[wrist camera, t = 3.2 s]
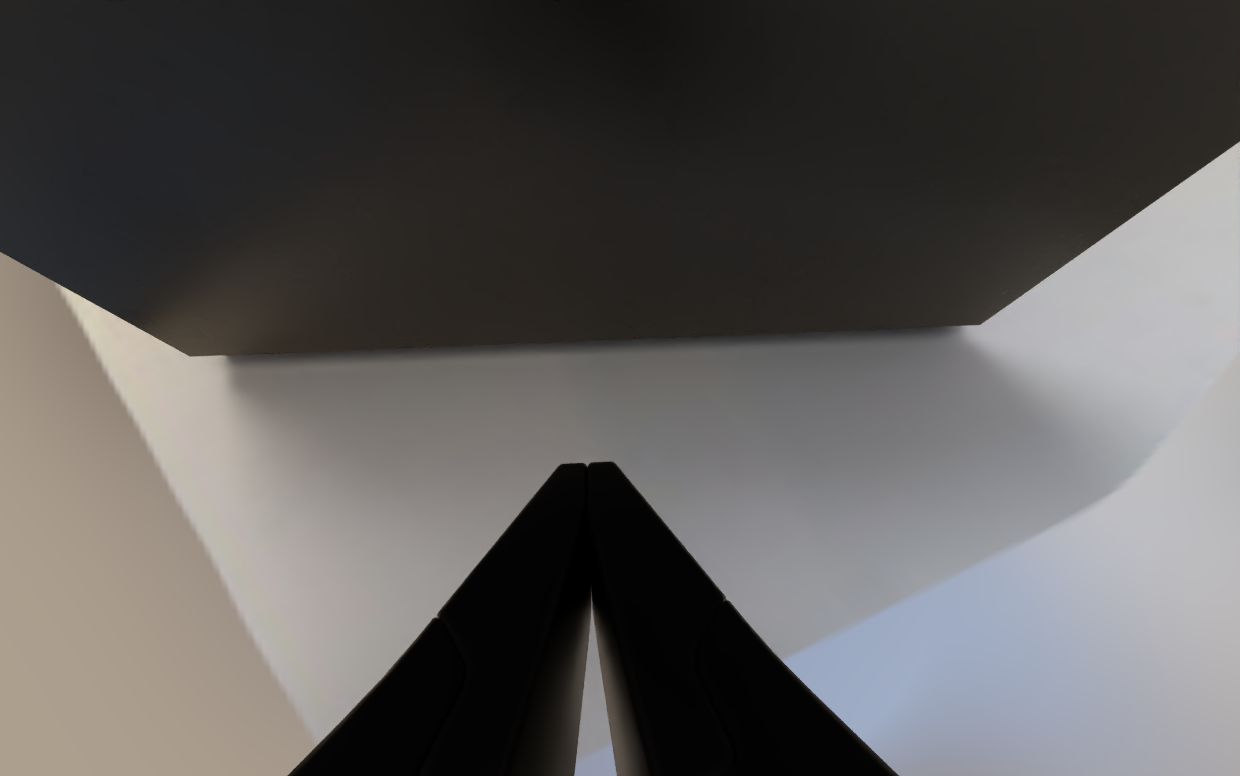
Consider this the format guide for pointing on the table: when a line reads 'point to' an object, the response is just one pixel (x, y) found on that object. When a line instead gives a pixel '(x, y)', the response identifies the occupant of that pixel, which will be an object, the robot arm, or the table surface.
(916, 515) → the table surface
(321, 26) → the laptop screen
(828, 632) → the table surface
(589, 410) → the table surface
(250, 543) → the table surface
